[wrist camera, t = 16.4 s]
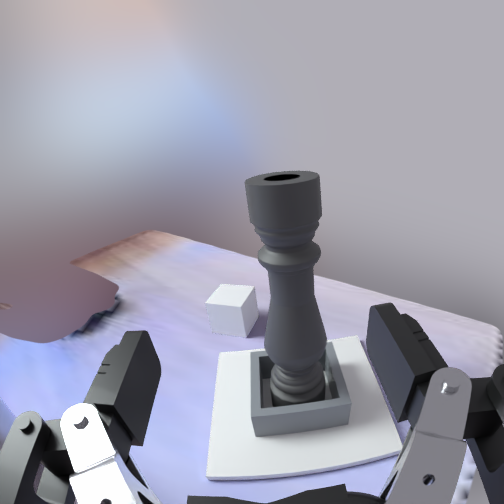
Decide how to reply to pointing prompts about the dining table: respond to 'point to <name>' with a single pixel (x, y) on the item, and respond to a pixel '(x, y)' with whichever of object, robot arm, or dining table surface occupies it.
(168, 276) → the dining table surface
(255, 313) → the white cube
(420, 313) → the dining table surface
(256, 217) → the candle holder
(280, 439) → the collar board
